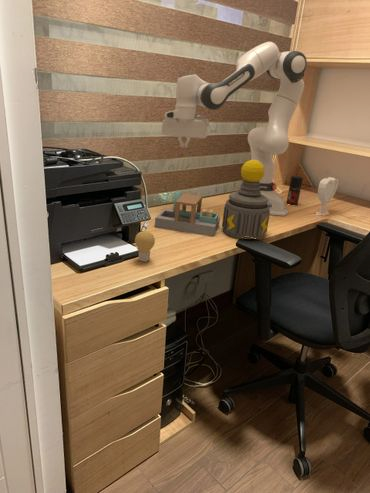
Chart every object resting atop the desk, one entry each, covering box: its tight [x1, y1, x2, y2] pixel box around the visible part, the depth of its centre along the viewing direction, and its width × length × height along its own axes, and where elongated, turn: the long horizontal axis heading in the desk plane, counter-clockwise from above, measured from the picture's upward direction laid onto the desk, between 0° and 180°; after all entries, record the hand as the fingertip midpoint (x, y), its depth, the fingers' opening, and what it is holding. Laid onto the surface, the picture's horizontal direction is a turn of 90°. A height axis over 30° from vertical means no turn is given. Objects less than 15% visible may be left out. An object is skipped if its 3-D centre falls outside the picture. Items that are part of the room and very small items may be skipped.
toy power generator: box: [221, 159, 270, 240], centre depth 152 cm, size 19×19×30 cm
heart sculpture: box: [315, 176, 339, 216], centre depth 191 cm, size 16×5×18 cm, turn 137°
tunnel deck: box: [154, 192, 221, 237], centre depth 157 cm, size 24×14×12 cm, turn 77°
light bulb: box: [134, 230, 156, 262], centre depth 123 cm, size 6×6×10 cm
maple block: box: [201, 208, 214, 218], centre depth 155 cm, size 4×4×4 cm
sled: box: [172, 190, 219, 223], centre depth 155 cm, size 19×7×10 cm, turn 77°
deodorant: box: [286, 175, 304, 206], centre depth 202 cm, size 6×6×15 cm
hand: (183, 147), depth 168 cm, fingers closed
